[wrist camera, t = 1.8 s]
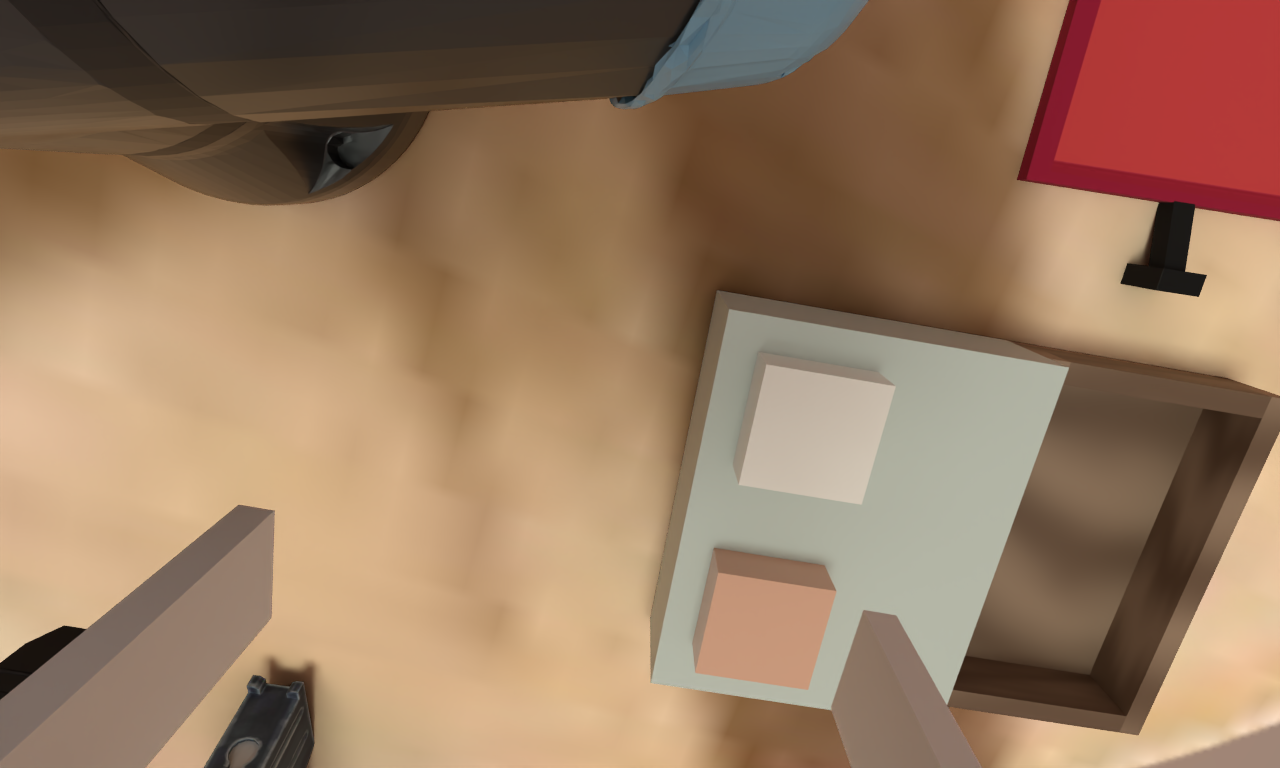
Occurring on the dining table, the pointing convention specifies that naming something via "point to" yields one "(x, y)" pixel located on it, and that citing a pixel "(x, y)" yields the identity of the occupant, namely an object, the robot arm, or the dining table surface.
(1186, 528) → the tray
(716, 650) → the tile
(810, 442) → the tile
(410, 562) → the dining table surface
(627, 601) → the dining table surface
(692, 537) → the board
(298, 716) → the gun
